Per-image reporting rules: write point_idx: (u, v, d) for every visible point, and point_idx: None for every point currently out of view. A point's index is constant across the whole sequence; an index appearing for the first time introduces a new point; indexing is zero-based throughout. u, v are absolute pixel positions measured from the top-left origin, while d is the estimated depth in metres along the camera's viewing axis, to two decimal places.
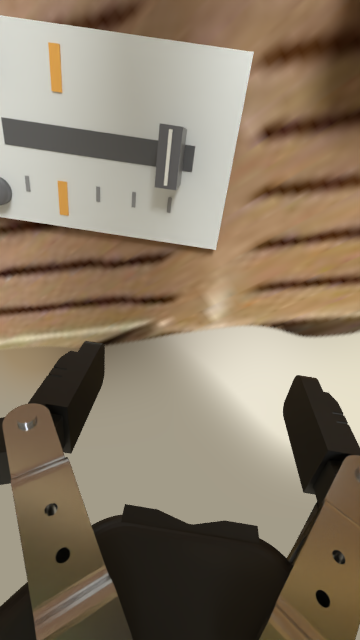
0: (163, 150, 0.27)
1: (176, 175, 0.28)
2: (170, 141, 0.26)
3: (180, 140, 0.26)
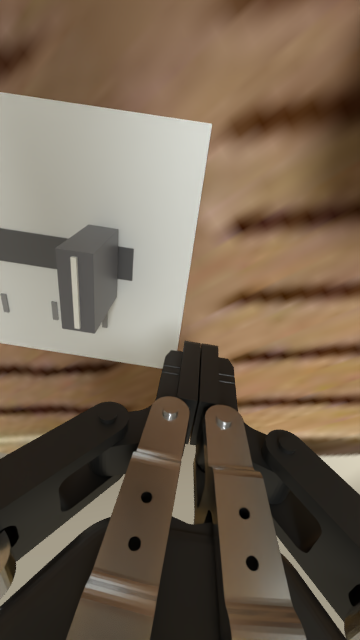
0: (67, 283, 0.17)
1: (92, 315, 0.18)
2: (75, 274, 0.16)
3: (91, 271, 0.16)
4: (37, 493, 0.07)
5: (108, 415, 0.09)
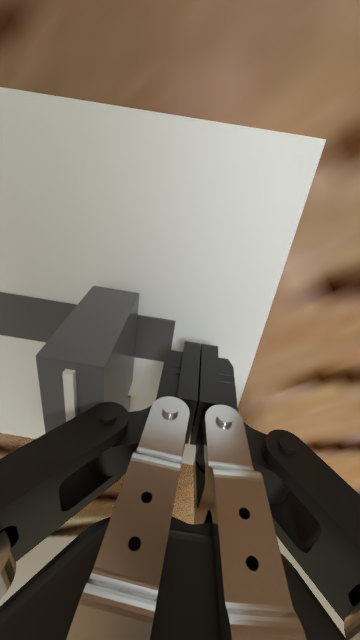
0: (58, 406, 0.10)
1: None
2: (71, 397, 0.09)
3: (100, 392, 0.09)
4: (37, 493, 0.07)
5: (108, 415, 0.09)
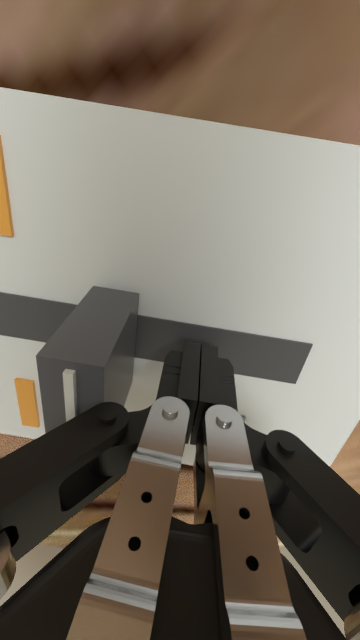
0: (58, 406, 0.10)
1: None
2: (71, 397, 0.09)
3: (100, 392, 0.09)
4: (37, 493, 0.07)
5: (108, 415, 0.09)
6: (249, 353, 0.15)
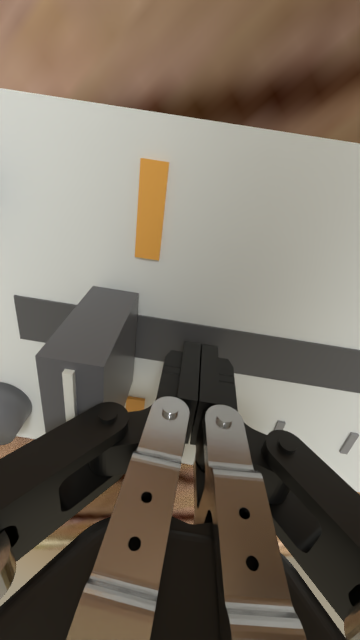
0: (58, 406, 0.10)
1: None
2: (70, 397, 0.09)
3: (100, 392, 0.09)
4: (37, 493, 0.07)
5: (108, 415, 0.09)
6: None
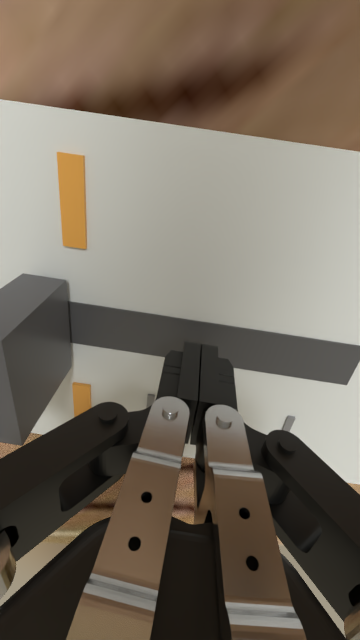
0: None
1: (15, 423, 0.11)
2: None
3: (3, 365, 0.10)
4: (37, 493, 0.07)
5: (108, 415, 0.09)
6: (304, 356, 0.15)
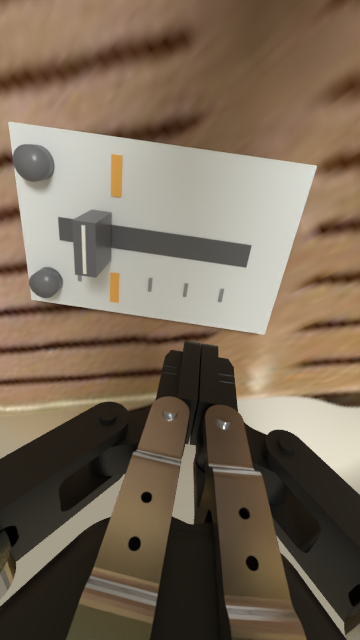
0: (79, 242, 0.27)
1: (94, 264, 0.28)
2: (84, 236, 0.27)
3: (94, 234, 0.27)
4: (37, 493, 0.07)
5: (107, 415, 0.09)
6: (224, 251, 0.32)
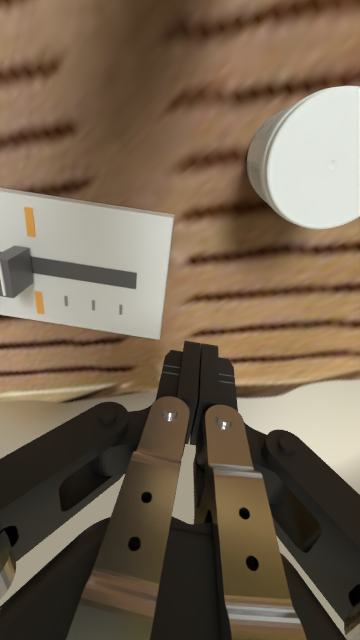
0: None
1: (11, 289, 0.38)
2: (0, 269, 0.36)
3: (7, 268, 0.36)
4: (37, 493, 0.07)
5: (108, 415, 0.09)
6: (117, 277, 0.42)
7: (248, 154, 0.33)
